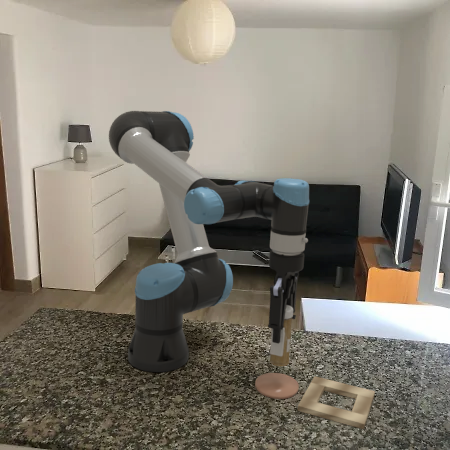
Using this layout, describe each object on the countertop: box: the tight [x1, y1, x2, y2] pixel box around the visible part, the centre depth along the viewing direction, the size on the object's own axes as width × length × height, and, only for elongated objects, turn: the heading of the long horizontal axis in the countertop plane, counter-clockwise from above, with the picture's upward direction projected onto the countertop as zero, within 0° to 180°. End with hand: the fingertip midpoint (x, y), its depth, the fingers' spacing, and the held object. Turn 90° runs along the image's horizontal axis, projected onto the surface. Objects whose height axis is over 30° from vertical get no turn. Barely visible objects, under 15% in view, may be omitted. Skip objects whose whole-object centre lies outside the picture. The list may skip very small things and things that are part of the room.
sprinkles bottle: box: [269, 305, 294, 367], centre depth 118 cm, size 5×5×14 cm
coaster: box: [254, 372, 300, 400], centre depth 121 cm, size 10×10×1 cm
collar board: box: [297, 376, 376, 430], centre depth 115 cm, size 14×14×1 cm
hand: (280, 349), depth 118 cm, fingers closed on sprinkles bottle, 4 cm apart
